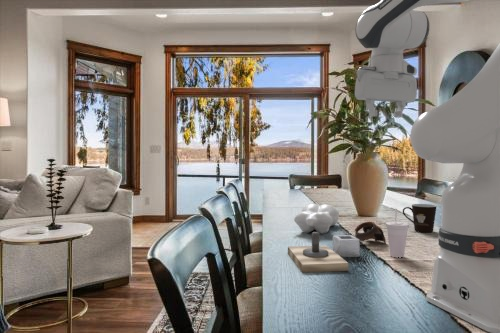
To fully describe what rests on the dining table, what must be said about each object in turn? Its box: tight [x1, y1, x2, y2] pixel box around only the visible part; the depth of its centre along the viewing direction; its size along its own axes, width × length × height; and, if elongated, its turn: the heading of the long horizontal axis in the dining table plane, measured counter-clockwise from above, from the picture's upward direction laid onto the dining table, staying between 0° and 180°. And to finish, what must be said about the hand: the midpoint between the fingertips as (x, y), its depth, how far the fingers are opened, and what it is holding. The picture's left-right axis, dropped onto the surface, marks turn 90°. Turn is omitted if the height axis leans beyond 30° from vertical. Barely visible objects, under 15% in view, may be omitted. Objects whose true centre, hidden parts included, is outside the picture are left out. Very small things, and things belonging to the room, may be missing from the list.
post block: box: [287, 231, 349, 273], centre depth 102 cm, size 18×12×8 cm, turn 6°
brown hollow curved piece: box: [354, 221, 387, 245], centre depth 124 cm, size 12×10×8 cm
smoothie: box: [385, 208, 410, 259], centre depth 107 cm, size 6×6×14 cm
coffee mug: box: [402, 203, 438, 234], centre depth 143 cm, size 12×9×10 cm
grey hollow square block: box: [332, 234, 361, 258], centre depth 110 cm, size 6×6×5 cm
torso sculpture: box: [294, 203, 340, 234], centre depth 144 cm, size 16×11×30 cm
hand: (385, 116), depth 105 cm, fingers open, 8 cm apart
